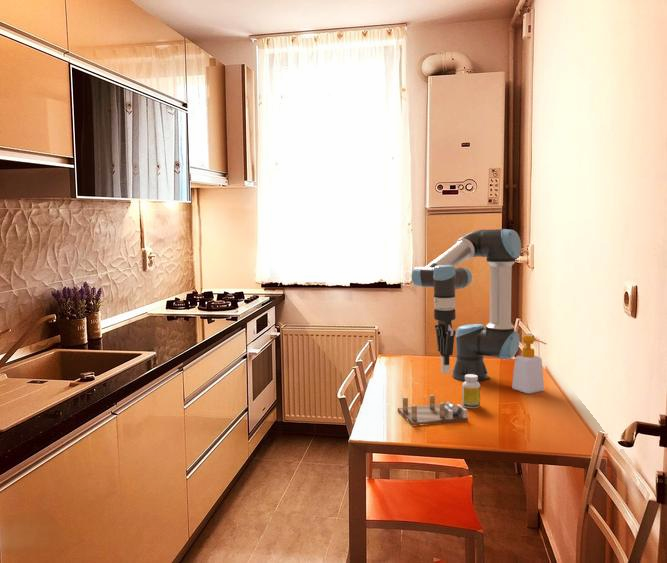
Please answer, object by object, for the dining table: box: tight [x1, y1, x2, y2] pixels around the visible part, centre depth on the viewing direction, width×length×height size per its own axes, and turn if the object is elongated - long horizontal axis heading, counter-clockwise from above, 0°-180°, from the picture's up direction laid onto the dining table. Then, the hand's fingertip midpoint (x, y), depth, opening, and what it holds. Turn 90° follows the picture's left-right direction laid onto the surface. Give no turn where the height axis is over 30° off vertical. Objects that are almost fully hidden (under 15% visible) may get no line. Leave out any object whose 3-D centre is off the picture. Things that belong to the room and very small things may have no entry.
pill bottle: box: [461, 374, 481, 409], centre depth 212 cm, size 6×6×12 cm
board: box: [397, 394, 469, 426], centre depth 203 cm, size 16×20×6 cm
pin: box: [444, 401, 460, 416], centre depth 202 cm, size 7×3×3 cm, turn 12°
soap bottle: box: [511, 335, 547, 395], centre depth 228 cm, size 10×14×22 cm
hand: (445, 372), depth 207 cm, fingers closed
